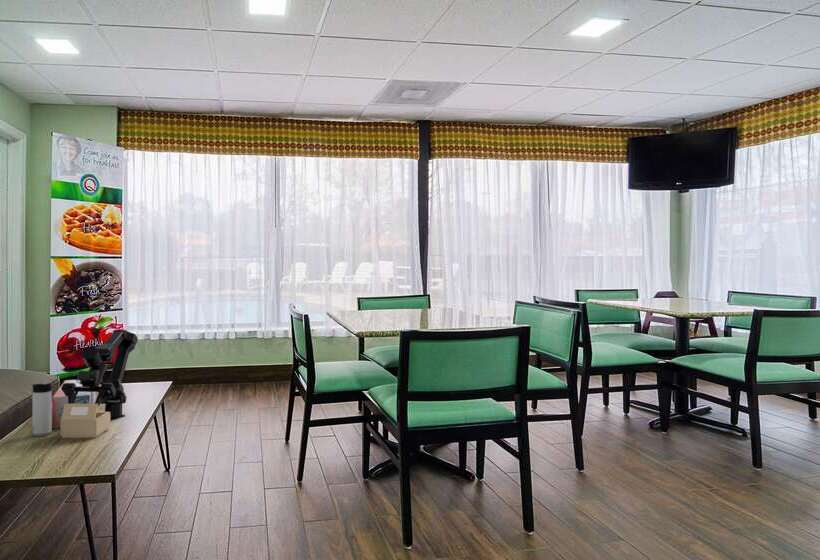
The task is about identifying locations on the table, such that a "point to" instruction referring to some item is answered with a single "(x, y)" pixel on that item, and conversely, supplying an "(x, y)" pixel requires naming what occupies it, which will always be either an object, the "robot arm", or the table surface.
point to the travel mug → (42, 410)
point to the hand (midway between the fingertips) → (81, 408)
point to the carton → (85, 426)
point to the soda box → (62, 399)
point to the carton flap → (79, 412)
